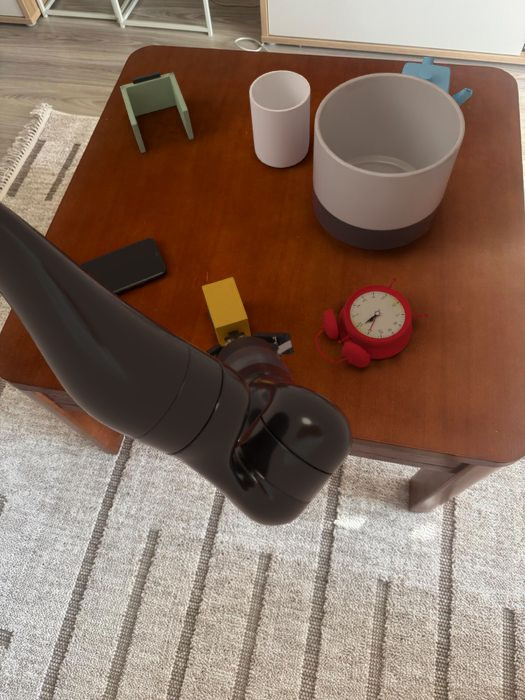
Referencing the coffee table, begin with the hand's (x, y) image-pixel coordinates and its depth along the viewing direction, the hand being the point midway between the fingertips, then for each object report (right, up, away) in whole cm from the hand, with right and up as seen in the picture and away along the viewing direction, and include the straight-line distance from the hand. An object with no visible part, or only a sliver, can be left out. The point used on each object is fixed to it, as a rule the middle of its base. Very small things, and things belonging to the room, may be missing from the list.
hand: (234, 338), depth 71 cm
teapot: (+31, +37, +21) cm, 53 cm away
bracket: (-15, +39, +25) cm, 49 cm away
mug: (+8, +34, +21) cm, 41 cm away
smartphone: (-19, +10, +11) cm, 24 cm away
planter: (+21, +20, +13) cm, 32 cm away
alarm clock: (+18, +1, +4) cm, 19 cm away
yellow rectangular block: (-1, +2, +5) cm, 6 cm away
